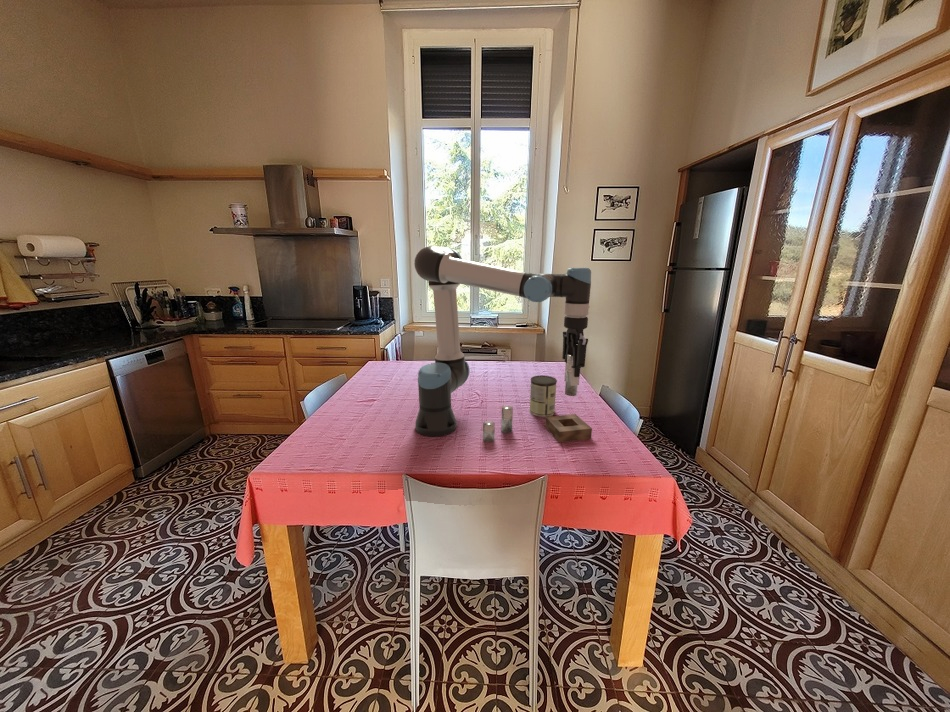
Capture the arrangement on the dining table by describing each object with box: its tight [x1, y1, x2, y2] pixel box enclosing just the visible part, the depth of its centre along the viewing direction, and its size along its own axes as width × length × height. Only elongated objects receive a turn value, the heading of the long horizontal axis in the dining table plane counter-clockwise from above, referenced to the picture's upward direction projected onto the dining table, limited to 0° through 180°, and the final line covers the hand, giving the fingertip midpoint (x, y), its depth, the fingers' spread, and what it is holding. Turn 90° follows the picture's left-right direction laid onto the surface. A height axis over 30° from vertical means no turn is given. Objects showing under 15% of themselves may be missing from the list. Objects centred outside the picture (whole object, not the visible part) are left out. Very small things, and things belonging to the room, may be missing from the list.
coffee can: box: [529, 374, 558, 418], centre depth 143 cm, size 10×10×14 cm
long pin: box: [564, 354, 578, 397], centre depth 121 cm, size 4×4×14 cm
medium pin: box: [500, 405, 514, 434], centre depth 128 cm, size 4×4×9 cm
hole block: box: [544, 413, 593, 443], centre depth 127 cm, size 12×12×4 cm
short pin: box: [482, 420, 496, 443], centre depth 122 cm, size 4×4×6 cm
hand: (571, 382), depth 122 cm, fingers closed on long pin, 4 cm apart
